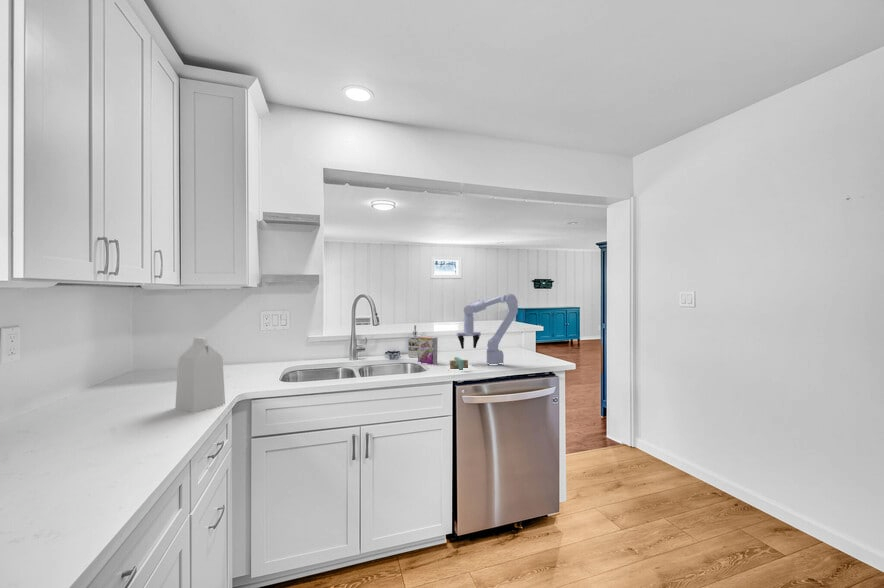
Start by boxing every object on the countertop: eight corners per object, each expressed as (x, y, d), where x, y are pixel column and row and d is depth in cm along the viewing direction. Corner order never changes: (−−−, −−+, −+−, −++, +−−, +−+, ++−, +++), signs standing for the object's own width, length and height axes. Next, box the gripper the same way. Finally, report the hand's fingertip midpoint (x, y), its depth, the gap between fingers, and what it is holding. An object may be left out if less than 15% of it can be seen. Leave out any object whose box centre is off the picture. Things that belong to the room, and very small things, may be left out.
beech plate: (466, 368, 208) (466, 359, 208) (467, 369, 207) (467, 360, 207) (449, 369, 206) (449, 360, 205) (450, 370, 204) (450, 361, 204)
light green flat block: (457, 367, 211) (457, 356, 211) (463, 371, 202) (463, 360, 202) (454, 367, 211) (454, 357, 211) (460, 371, 201) (460, 360, 201)
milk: (175, 408, 140) (175, 338, 140) (206, 400, 150) (206, 335, 150) (193, 413, 134) (193, 341, 134) (225, 404, 145) (225, 337, 144)
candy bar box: (417, 363, 225) (417, 336, 224) (422, 362, 229) (422, 335, 229) (433, 366, 219) (433, 338, 218) (437, 364, 223) (437, 337, 223)
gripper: (459, 326, 216) (459, 349, 217) (482, 325, 221) (482, 348, 221) (455, 325, 223) (455, 347, 223) (478, 324, 227) (477, 346, 228)
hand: (468, 348), depth 223 cm, fingers open, 7 cm apart
